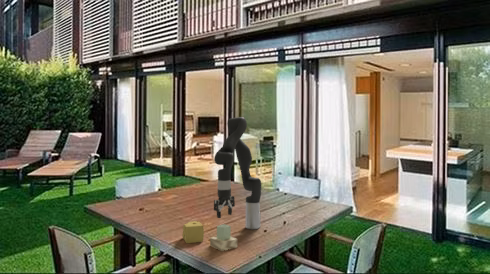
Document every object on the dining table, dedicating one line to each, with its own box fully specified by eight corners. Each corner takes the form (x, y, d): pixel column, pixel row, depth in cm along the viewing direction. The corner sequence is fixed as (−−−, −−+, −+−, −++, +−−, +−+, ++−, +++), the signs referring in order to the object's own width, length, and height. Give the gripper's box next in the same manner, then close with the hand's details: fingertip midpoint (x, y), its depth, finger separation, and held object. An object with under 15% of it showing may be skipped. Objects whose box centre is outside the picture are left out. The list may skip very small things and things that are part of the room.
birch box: (226, 242, 226) (226, 234, 226) (237, 247, 218) (237, 239, 218) (210, 246, 220) (210, 237, 219) (221, 252, 211) (221, 243, 211)
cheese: (182, 238, 232) (182, 222, 232) (199, 236, 236) (199, 220, 235) (185, 244, 223) (185, 226, 222) (204, 241, 226) (204, 225, 226)
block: (223, 236, 223) (223, 224, 222) (230, 238, 219) (230, 226, 218) (216, 238, 219) (216, 226, 218) (223, 240, 215) (223, 228, 214)
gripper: (228, 185, 224) (228, 212, 225) (210, 188, 214) (210, 217, 215) (237, 186, 219) (238, 214, 220) (219, 190, 209) (220, 220, 210)
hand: (224, 216), depth 218 cm, fingers open, 8 cm apart
